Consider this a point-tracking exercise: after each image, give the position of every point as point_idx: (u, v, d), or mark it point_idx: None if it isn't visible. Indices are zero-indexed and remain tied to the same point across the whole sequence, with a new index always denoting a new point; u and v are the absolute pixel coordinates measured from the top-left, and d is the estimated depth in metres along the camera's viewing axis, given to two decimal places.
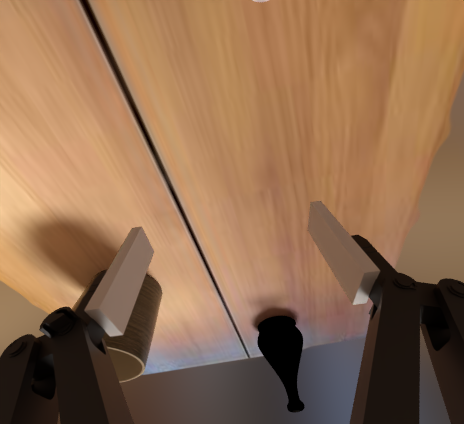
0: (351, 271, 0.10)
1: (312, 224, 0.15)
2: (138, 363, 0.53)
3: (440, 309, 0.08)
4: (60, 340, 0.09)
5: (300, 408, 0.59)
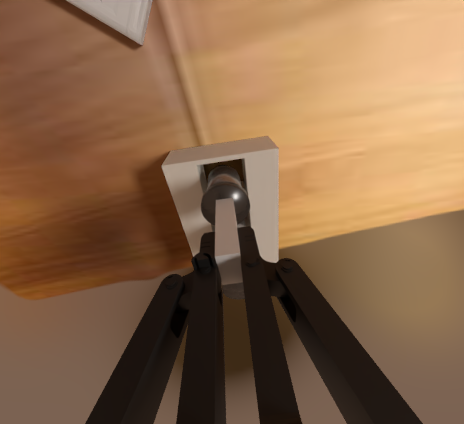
0: None
1: None
2: None
3: (284, 288, 0.10)
4: (199, 276, 0.11)
5: None
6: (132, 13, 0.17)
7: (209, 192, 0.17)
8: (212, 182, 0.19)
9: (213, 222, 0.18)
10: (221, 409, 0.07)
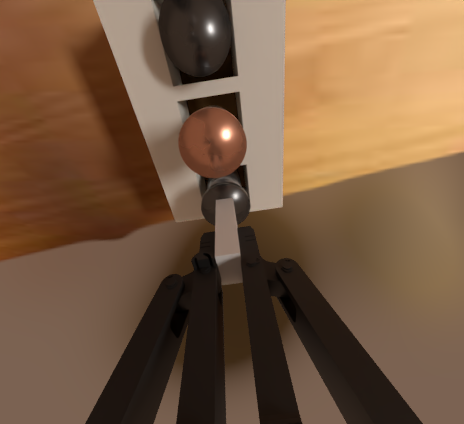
0: None
1: None
2: None
3: (284, 288, 0.10)
4: (199, 276, 0.11)
5: None
6: None
7: None
8: None
9: (180, 64, 0.13)
10: (221, 409, 0.07)
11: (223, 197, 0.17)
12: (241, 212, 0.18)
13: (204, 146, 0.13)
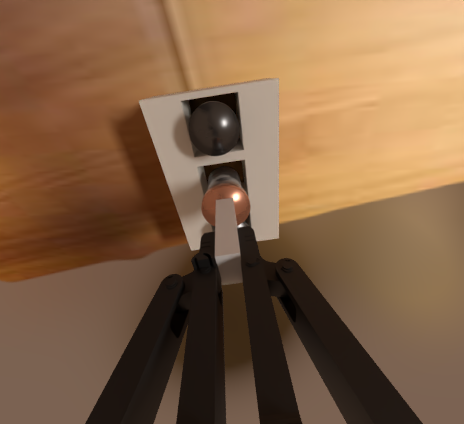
0: None
1: None
2: None
3: (284, 288, 0.10)
4: (199, 276, 0.11)
5: None
6: None
7: (196, 110, 0.16)
8: None
9: (202, 149, 0.18)
10: (221, 409, 0.07)
11: None
12: None
13: None
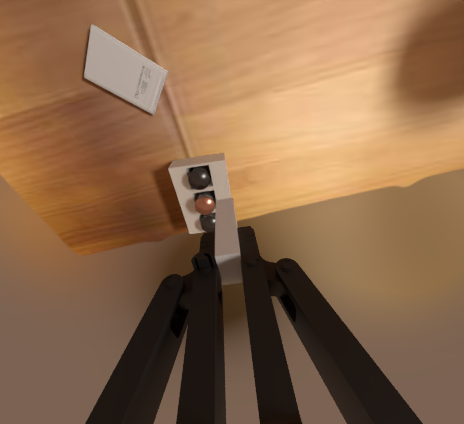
0: None
1: None
2: None
3: (284, 288, 0.10)
4: (199, 276, 0.11)
5: None
6: (150, 103, 0.38)
7: (191, 173, 0.40)
8: (194, 170, 0.42)
9: (194, 187, 0.42)
10: (221, 409, 0.07)
11: (209, 221, 0.47)
12: None
13: (202, 206, 0.44)
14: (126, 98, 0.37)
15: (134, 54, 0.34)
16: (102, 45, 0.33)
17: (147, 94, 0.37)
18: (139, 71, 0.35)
